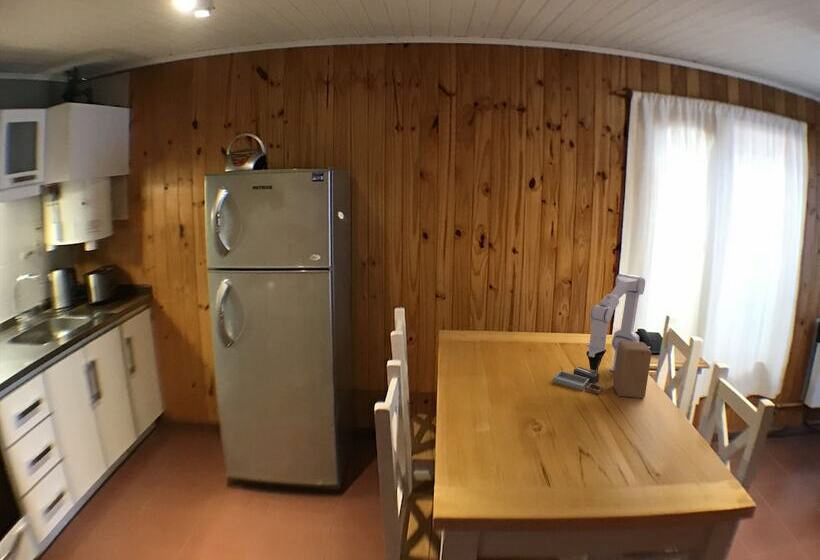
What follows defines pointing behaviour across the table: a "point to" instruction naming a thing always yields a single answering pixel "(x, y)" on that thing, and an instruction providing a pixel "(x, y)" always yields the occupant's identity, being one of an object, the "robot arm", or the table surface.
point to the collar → (594, 389)
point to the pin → (594, 371)
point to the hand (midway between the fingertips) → (594, 368)
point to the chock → (586, 374)
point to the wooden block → (631, 369)
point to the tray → (571, 380)
